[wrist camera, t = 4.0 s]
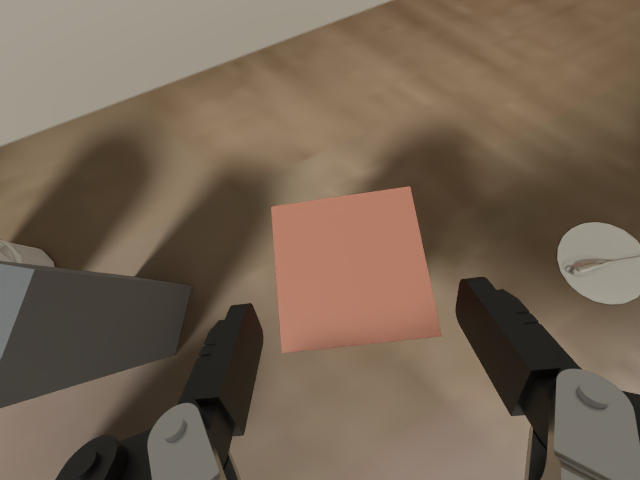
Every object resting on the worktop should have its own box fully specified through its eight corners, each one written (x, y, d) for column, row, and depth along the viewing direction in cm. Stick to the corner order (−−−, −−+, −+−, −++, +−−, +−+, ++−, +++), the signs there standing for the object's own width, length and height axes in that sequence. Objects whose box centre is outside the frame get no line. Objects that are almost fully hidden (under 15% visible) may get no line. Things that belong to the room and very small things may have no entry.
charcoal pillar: (114, 342, 18) (-132, 385, 9) (134, 276, 19) (-69, 252, 10) (175, 354, 17) (-20, 414, 8) (192, 285, 18) (34, 269, 9)
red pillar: (318, 324, 17) (282, 352, 8) (310, 255, 18) (271, 206, 9) (389, 316, 16) (441, 336, 7) (378, 246, 18) (410, 186, 8)
